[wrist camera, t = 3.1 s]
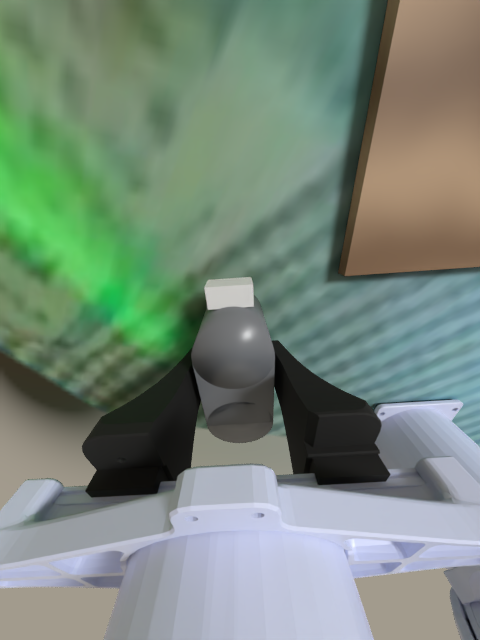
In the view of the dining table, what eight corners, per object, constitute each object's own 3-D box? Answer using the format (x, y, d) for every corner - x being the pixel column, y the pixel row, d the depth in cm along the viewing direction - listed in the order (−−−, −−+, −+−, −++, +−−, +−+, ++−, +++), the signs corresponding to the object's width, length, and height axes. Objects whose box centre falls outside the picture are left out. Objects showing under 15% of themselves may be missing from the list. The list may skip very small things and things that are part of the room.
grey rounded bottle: (262, 382, 16) (272, 441, 12) (218, 385, 16) (211, 444, 12) (261, 268, 12) (276, 295, 7) (199, 273, 12) (177, 302, 7)
